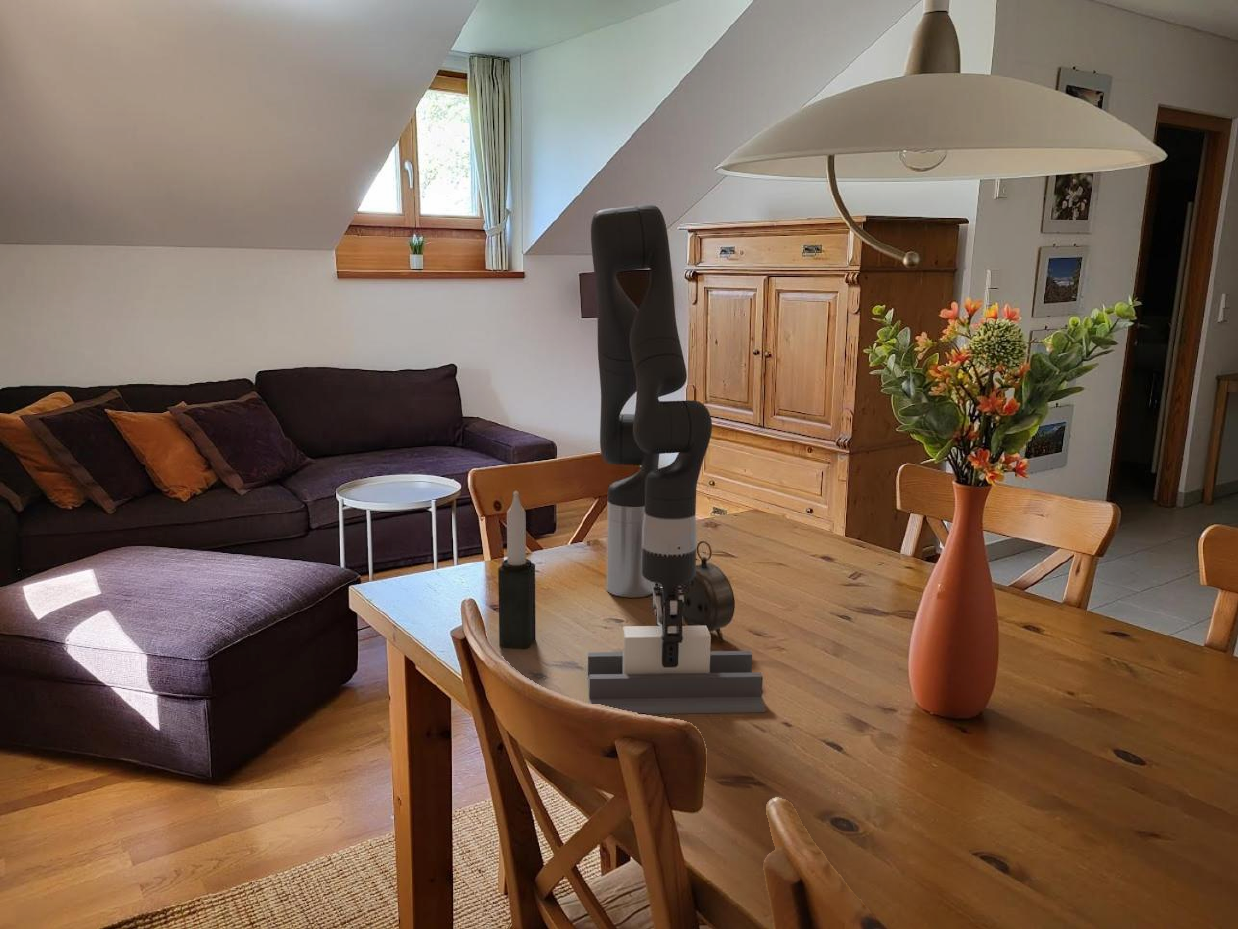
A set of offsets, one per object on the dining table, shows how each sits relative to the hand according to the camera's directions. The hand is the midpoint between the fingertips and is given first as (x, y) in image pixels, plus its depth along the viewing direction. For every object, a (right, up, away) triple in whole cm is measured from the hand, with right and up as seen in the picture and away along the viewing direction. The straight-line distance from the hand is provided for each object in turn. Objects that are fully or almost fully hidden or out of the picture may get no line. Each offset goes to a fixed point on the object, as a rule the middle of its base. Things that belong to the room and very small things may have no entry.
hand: (666, 653), depth 131 cm
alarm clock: (+7, -2, +21) cm, 22 cm away
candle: (-23, -2, +17) cm, 29 cm away
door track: (+1, -6, +1) cm, 6 cm away
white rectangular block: (0, -5, +1) cm, 5 cm away
